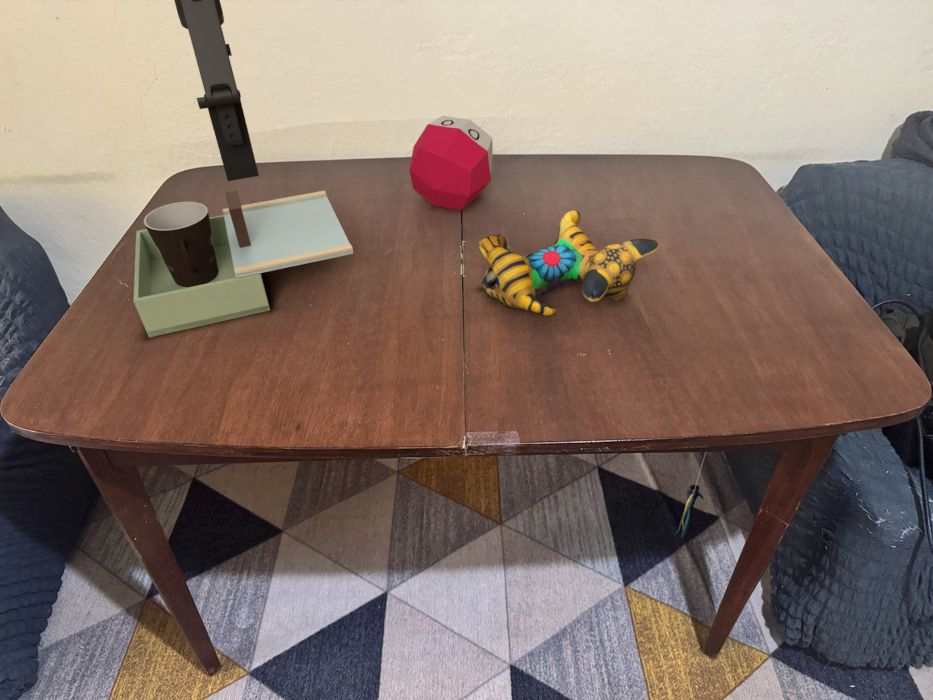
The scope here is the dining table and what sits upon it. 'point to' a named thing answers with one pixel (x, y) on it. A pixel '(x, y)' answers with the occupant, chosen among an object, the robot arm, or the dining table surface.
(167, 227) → the coffee mug
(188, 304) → the green open storage box
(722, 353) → the dining table surface
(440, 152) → the decorative object
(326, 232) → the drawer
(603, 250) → the dog figurine
